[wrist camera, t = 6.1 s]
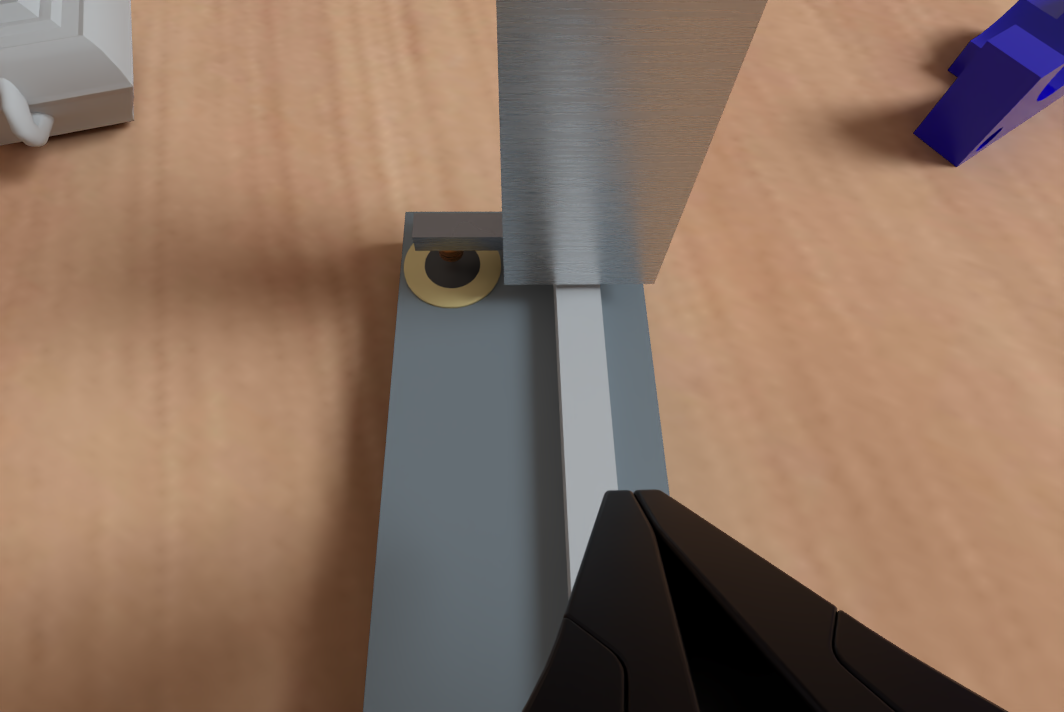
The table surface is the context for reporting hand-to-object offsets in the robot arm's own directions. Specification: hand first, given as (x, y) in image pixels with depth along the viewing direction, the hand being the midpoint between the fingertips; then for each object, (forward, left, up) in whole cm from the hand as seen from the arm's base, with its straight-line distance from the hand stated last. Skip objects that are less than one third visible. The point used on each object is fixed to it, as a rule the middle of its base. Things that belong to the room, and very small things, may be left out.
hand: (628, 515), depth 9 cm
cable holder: (+24, 0, -7) cm, 25 cm away
